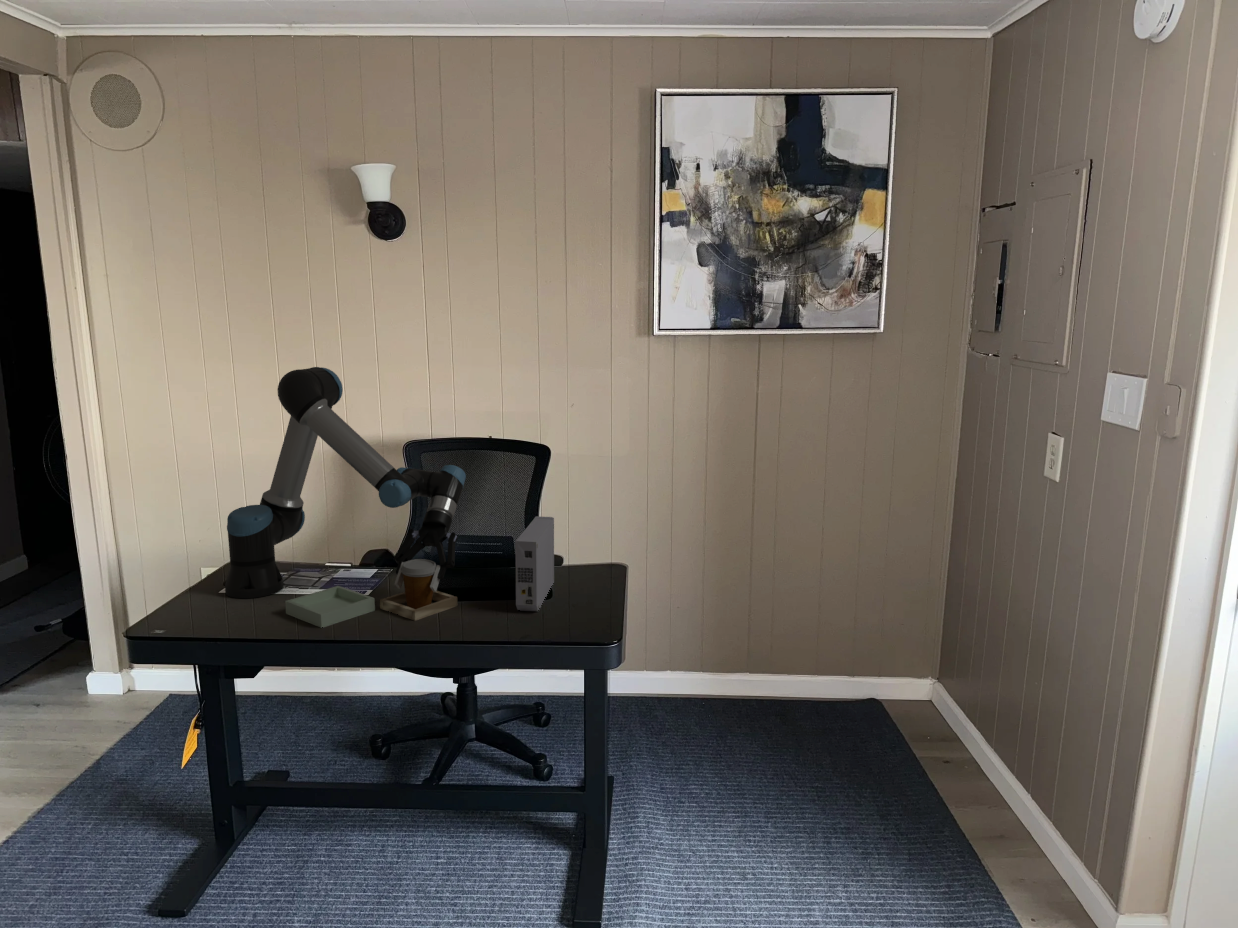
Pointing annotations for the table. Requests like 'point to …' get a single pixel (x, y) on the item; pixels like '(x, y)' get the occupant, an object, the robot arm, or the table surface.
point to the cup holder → (395, 607)
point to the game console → (534, 563)
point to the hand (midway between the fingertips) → (415, 587)
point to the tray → (330, 606)
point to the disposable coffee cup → (418, 582)
